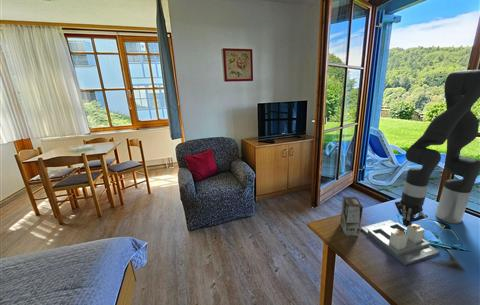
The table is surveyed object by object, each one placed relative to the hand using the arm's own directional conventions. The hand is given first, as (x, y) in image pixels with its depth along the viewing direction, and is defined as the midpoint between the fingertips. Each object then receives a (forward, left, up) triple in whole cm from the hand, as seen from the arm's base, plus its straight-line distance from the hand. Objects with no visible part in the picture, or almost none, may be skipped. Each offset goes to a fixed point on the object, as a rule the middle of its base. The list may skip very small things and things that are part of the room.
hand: (406, 225), depth 91 cm
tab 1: (+10, +5, -5) cm, 12 cm away
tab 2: (0, +4, -5) cm, 6 cm away
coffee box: (+19, -12, -7) cm, 24 cm away
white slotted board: (+5, +1, -6) cm, 8 cm away
